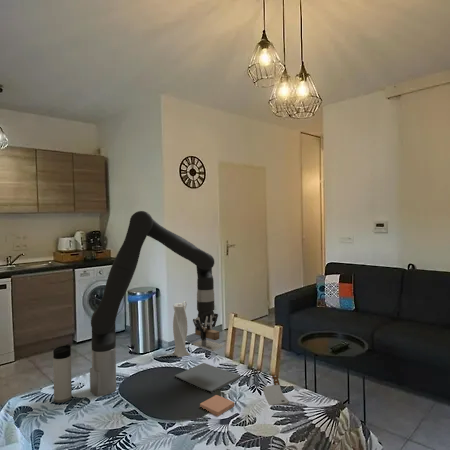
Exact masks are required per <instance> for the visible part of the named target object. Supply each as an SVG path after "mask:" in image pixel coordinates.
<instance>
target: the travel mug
mask: <svg viewBox="0 0 450 450" xmlns="http://www.w3.org/2000/svg"><path fill="white" fill-rule="evenodd" d="M52 352H53V357H52V361H53V362H52V363H53V365H52V366H53V367H52V368H53V369H52V370H53V401H54V402H55V403H58V404H59V403H66V402H68V401H70V400H71V399H72V396H73V395H72V394H73V393H72V392H73V391H72V348H71V344H65V345H61V346H58V347H56V348H54V349H53V351H52Z"/></svg>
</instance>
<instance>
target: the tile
mask: <svg viewBox="0 0 450 450" xmlns="http://www.w3.org/2000/svg"><path fill="white" fill-rule="evenodd" d="M200 407H202V408H203V410H204V409H206V410H207V411H206V410H205V411H206V412H208V411H209V412H208V413H210V414H213V415H214V416H217V417H219V416H220V415H222V414H224V413H225V412H227V411H229V410H230V409H232V408H233V407H235V401H232V400H230V399H228V398H226V397H223V396H220V395H218V394H215V395H213V396H212V397H210V398H207V399H206V400H204V401H202V402H201V403H199V408H200ZM202 408H201V409H202Z"/></svg>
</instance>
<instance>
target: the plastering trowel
mask: <svg viewBox="0 0 450 450" xmlns="http://www.w3.org/2000/svg"><path fill="white" fill-rule="evenodd" d="M202 329H203V328H202ZM194 330H195V331H194V333H195V335H196V336H199V337H201V332H200V331H197V330H196V327H195V329H194ZM205 332H206V340H205V341H204V340H201V339H200V340H198V341H196V342H193V344H192V345H193V346H196V347H198V348H202V349H205V350H208V351H211V352H215V351H218V350H220V349H222V348H225V344H221V343H218V342H215V341H218V340H220V331H218V330H215V329H212V330H211V329H208V328H206V331H205ZM211 340H213V341H211Z"/></svg>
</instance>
